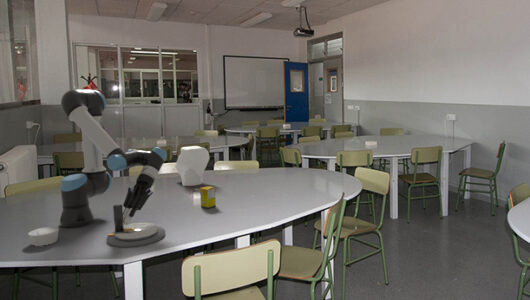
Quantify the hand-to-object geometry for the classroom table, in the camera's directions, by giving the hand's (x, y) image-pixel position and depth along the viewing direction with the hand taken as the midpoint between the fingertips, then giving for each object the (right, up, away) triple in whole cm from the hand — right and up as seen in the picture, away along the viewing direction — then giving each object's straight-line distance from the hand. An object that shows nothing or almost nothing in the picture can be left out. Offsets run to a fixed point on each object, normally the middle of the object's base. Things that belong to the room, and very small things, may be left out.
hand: (124, 222), depth 170 cm
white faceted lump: (+10, +8, +109) cm, 110 cm away
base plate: (+6, -6, -1) cm, 8 cm away
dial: (+6, -5, -1) cm, 7 cm away
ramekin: (-32, -8, -5) cm, 33 cm away
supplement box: (+30, 0, +45) cm, 54 cm away
